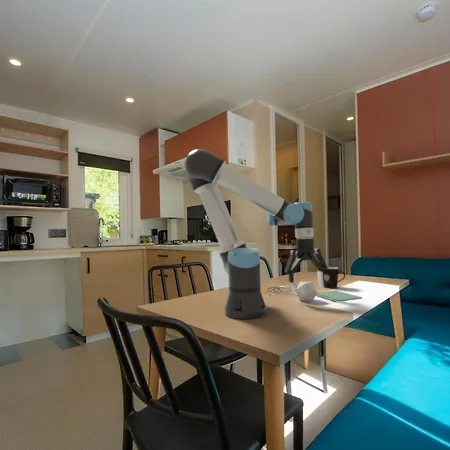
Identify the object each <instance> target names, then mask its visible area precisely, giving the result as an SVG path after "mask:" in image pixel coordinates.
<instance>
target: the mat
mask: <svg viewBox="0 0 450 450" xmlns="http://www.w3.org/2000/svg"><path fill="white" fill-rule="evenodd" d="M316 295H319V296H322V297H326V298H329V299H332V300H335V301H336V302H337V301H338V302H344V301H351V300H357V299H362V298H363V297H362V296H359V295H355V294H351V293H348V292H343V291H340V290H329V291H327V290H326V291H319V292H317V294H316Z"/></svg>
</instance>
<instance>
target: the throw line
mask: <svg viewBox="0 0 450 450" xmlns="http://www.w3.org/2000/svg"><path fill="white" fill-rule="evenodd" d="M315 297H318V298H321V299H324V300H326V301H330V302H335V303H337V300H334V299H331V298H327V297H324V296H321V295H318V294H316V296H315Z"/></svg>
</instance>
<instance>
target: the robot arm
mask: <svg viewBox="0 0 450 450" xmlns="http://www.w3.org/2000/svg"><path fill="white" fill-rule="evenodd" d="M184 168H185V174H186V178H187V180H188V181H189V183H190V185H191V186H190V187H191V188H192V190H193V193H196V194H197V195H198V196H199V198H200V200H201V203H202V204H203V208H204V211H205V213H206V216H207V217H208V220H209V223H210V225H211V228H212V230H213V232H214V234H215V237H216V239H217V242H218V244H219V247H220V248H219V252H218V254H219V256H220V258H221V261H222V264H223V268H224V271H225V272H226V274H228V295H227V299H226V302H225V305H224V314H225V316H227V317H229V318H232V319H238V320H250V319H251V320H252V319H258V318H261V317H264V316H265V315H266V314H267V305H266V303H265V300H264V297H263V295H262V292H261V291H262V290H261V289H262V287H261V285H262V284H261V256H260V252H259V251H258V250H257V249H255V248H249V247H248V246H247V244H246V242H245V241H243V240H241V238H240V237H239V234H238V232H237V230H236V226H235V225H234V222H233V220H232V217H231V215H230V213H229V210H228V208H227V205H226V202H225V200H224V198H223V197H224V196H223V195H222V193H221V191H220V188H219V185H220V186H221V187H222V188H224V189H226V190H228V191H229V192H231V193H233V194H234V195H236V196H239V198H242V199H243V200H244V201H247V202H249V203H250V204H251V205H253V206H255V207H257V208H259V209H260V210H263V211H264V212H266V215H265V217H266V218H265V219H266V224H267V225H268V226H271V227H276V226H278V227H279V226H294V234H295V235H294V236H295V238H296V239H295V248H296V250H290V251H289V257H288V260H287V262H286V265H285V268H284V270H283V272H284V274H287V275H288V282H289V283H290V290H291V291H294V292H295V291H296V288H297V281H296V279H297V276H296V274H295V272H296V270H297V269H298V268H299V266H300V265H301V263H302V262H303V261H310V262H311V263H312V264H313V265H314V266H315V268H316V269H317V270H316V274H317V275H316V277H317V280H316V281H317V287H320V288H324V285H323V279H324V271H325V270H326V269H328V267H329V266H328V265H327V263H326V261H325V260H324V257H323V255H322V253H321V249H320V248H314V247H315V238H314V235H315V233H314V220H313V219H314V217H313V215H314V214H313V212H314V211H313V206H312V203H311V202H310V201H298V202H297V201H296V202H294V203H292V202H290V201H288V200H285V199H284V198H283V197H281V196H279V195H277V194H276V193H274V192H272V190H271V191H270V190H269V189H268V188H266V187H264V186H263V185H260V184H259V183H258V182H255V181H254V180H252V179H250V178H249V177H248V176H246V175H244V174H242V173H240V172H239V171H237V170H235V169H234V168H232V167H231V166H229V165H227V162H226V160H224V159H222V158H221V157H219V156H217V155H216V154H214V153H213V152H212V151H209V150H207V149H205V148H204V149H203V148H197V149H194V150H191V152H189V153H188V155H187V156H186V158H185V161H184Z"/></svg>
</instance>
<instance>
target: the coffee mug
mask: <svg viewBox="0 0 450 450" xmlns="http://www.w3.org/2000/svg"><path fill="white" fill-rule="evenodd" d="M327 267H328V269H326V270H325V271H324V279H323V288H324V289H329V288H330V289H332V290H333V289H337V288H338V283H339V282H341V281H343V280H344V279H345V278H346V272H344V271H341V270H340V271H339V267H338V266H337V267H336V266H327ZM339 273H342V274H343V277H342V278H341V279H340V280H338V279H339Z"/></svg>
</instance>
